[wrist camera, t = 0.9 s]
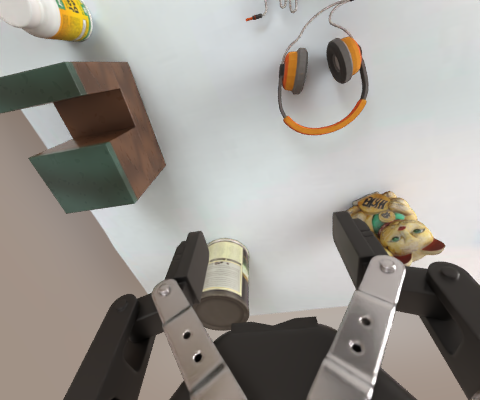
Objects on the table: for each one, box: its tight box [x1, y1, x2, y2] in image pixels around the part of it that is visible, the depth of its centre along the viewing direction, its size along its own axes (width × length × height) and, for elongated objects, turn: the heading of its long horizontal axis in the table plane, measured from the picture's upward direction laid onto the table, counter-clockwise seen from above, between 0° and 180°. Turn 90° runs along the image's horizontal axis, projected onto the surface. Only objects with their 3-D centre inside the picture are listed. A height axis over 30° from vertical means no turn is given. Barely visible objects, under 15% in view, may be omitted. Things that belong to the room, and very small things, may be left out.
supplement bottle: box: [0, 0, 93, 42], centre depth 26 cm, size 5×5×10 cm
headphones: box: [246, 0, 368, 135], centre depth 29 cm, size 17×5×20 cm
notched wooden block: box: [0, 62, 166, 214], centre depth 32 cm, size 16×10×13 cm, turn 11°
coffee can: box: [193, 238, 249, 330], centre depth 45 cm, size 10×10×14 cm
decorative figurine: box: [346, 191, 445, 266], centre depth 37 cm, size 10×8×15 cm
